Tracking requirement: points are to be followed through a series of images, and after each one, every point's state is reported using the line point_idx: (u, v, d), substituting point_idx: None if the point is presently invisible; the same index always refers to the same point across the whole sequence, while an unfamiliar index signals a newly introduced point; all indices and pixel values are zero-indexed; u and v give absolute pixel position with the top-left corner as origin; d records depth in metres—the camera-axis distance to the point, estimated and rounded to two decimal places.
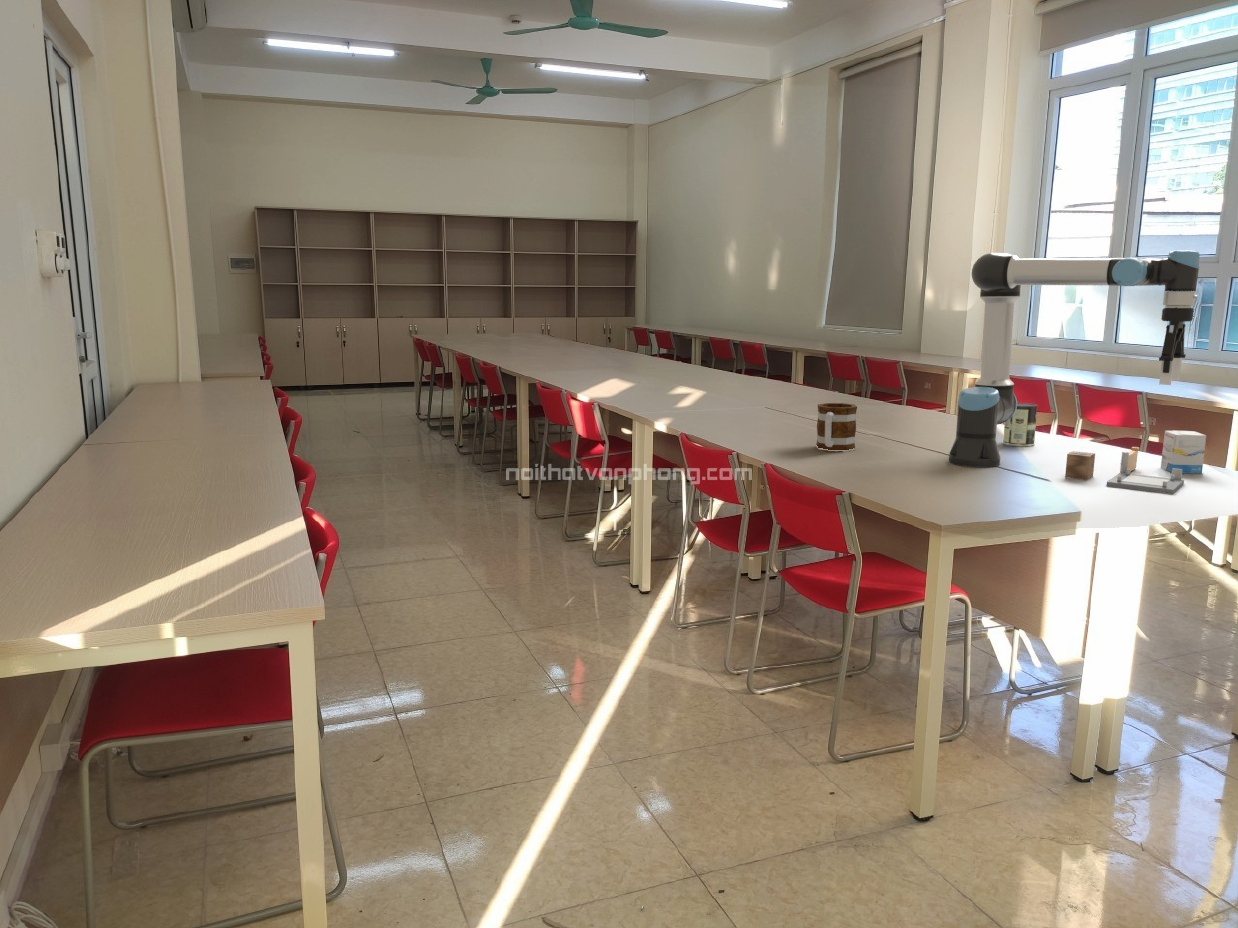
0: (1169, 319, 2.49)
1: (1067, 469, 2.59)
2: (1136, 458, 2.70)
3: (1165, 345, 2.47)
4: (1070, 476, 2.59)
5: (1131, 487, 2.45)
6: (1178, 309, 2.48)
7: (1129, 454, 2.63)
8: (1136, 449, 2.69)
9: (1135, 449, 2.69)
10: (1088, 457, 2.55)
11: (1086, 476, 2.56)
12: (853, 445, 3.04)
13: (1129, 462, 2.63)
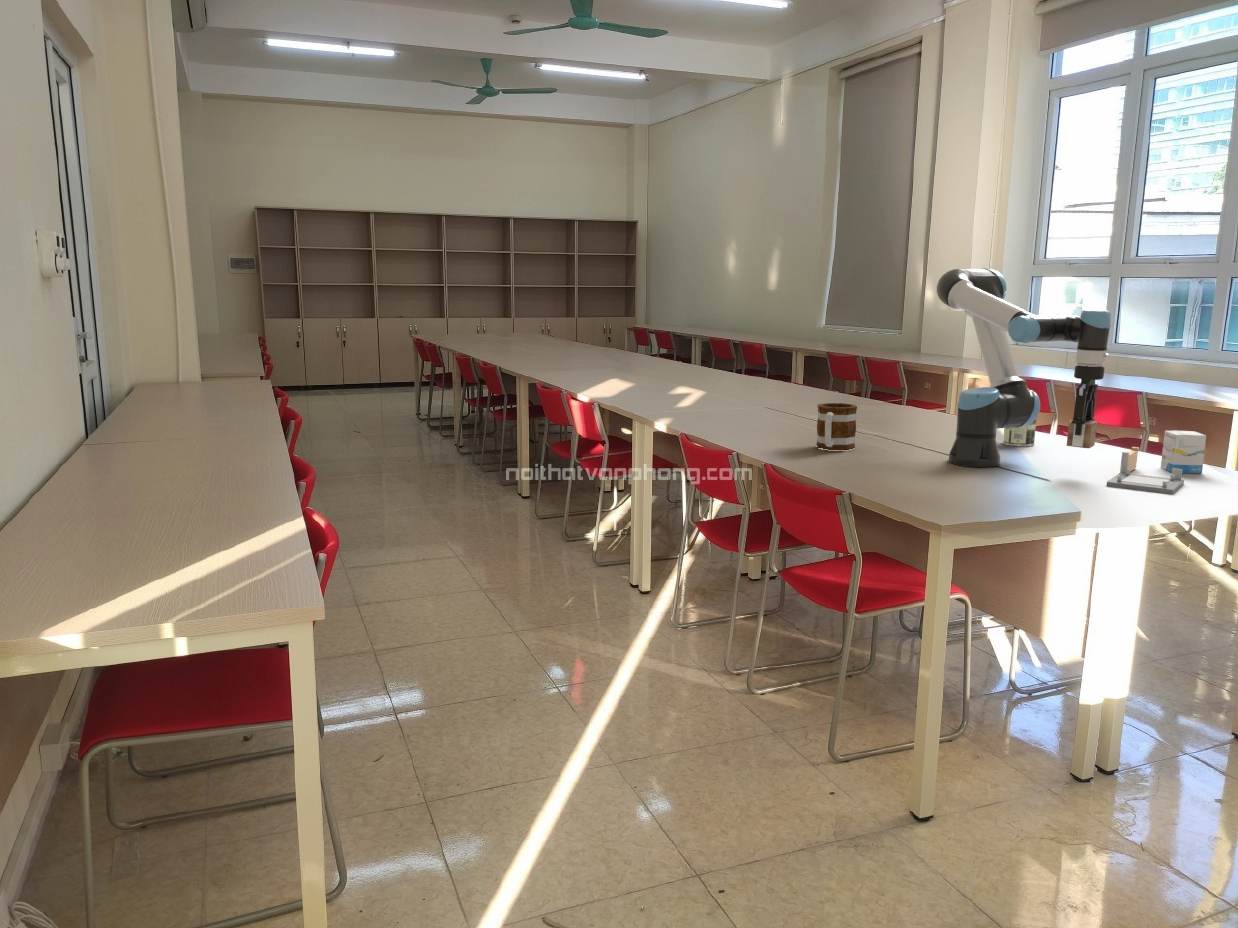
0: (1080, 377, 2.53)
1: (1069, 437, 2.58)
2: (1136, 458, 2.70)
3: (1076, 409, 2.52)
4: (1071, 444, 2.58)
5: (1131, 487, 2.45)
6: (1089, 368, 2.51)
7: (1129, 454, 2.63)
8: (1136, 449, 2.69)
9: (1135, 449, 2.69)
10: (1090, 425, 2.54)
11: (1088, 444, 2.55)
12: (853, 445, 3.04)
13: (1129, 462, 2.63)
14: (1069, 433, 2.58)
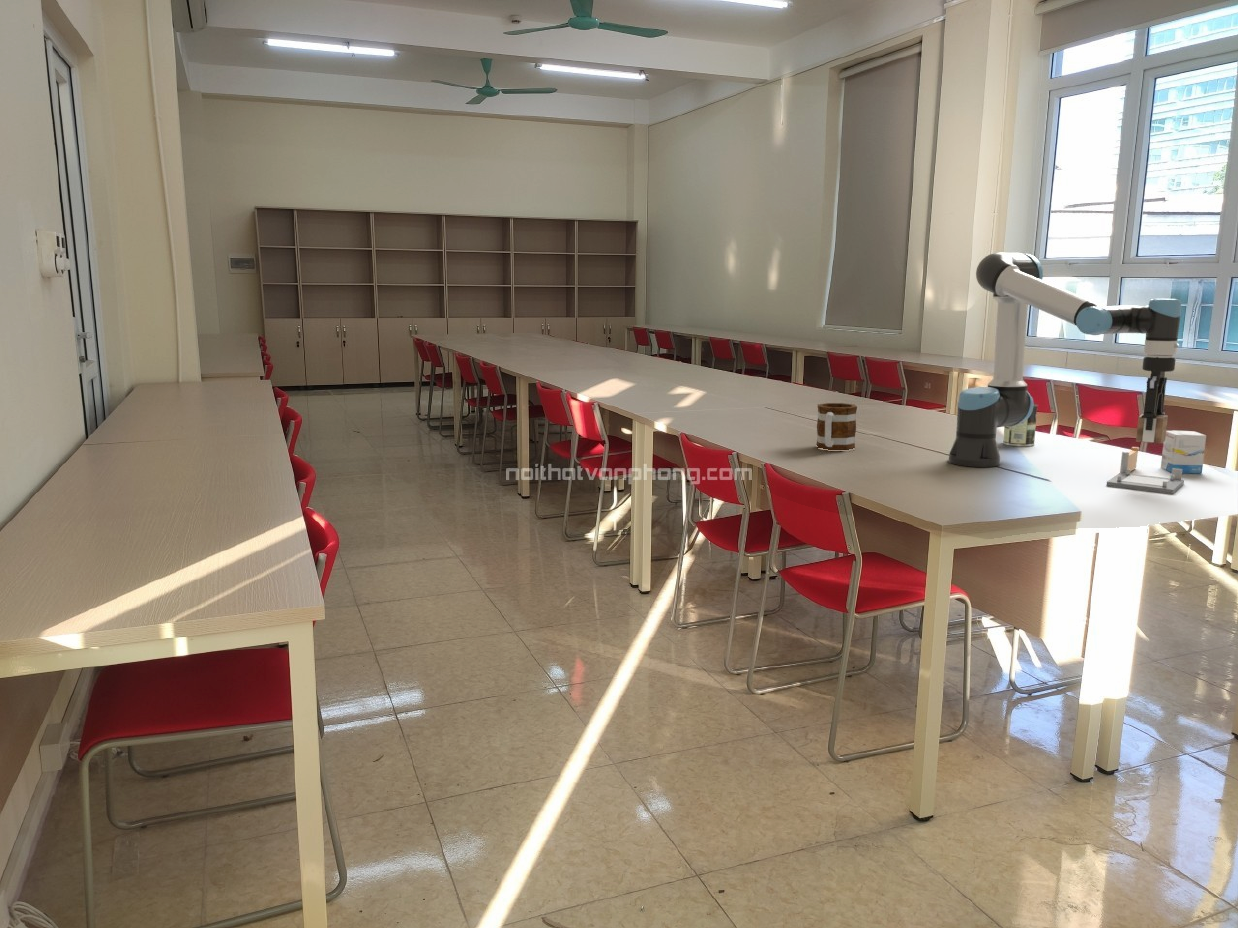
0: (1150, 369, 2.41)
1: (1138, 432, 2.46)
2: (1136, 458, 2.70)
3: (1147, 402, 2.40)
4: None
5: (1131, 487, 2.45)
6: (1159, 359, 2.40)
7: (1129, 454, 2.63)
8: (1136, 449, 2.69)
9: (1135, 449, 2.69)
10: (1162, 419, 2.42)
11: (1159, 439, 2.43)
12: (853, 445, 3.04)
13: (1129, 462, 2.63)
14: (1139, 428, 2.46)
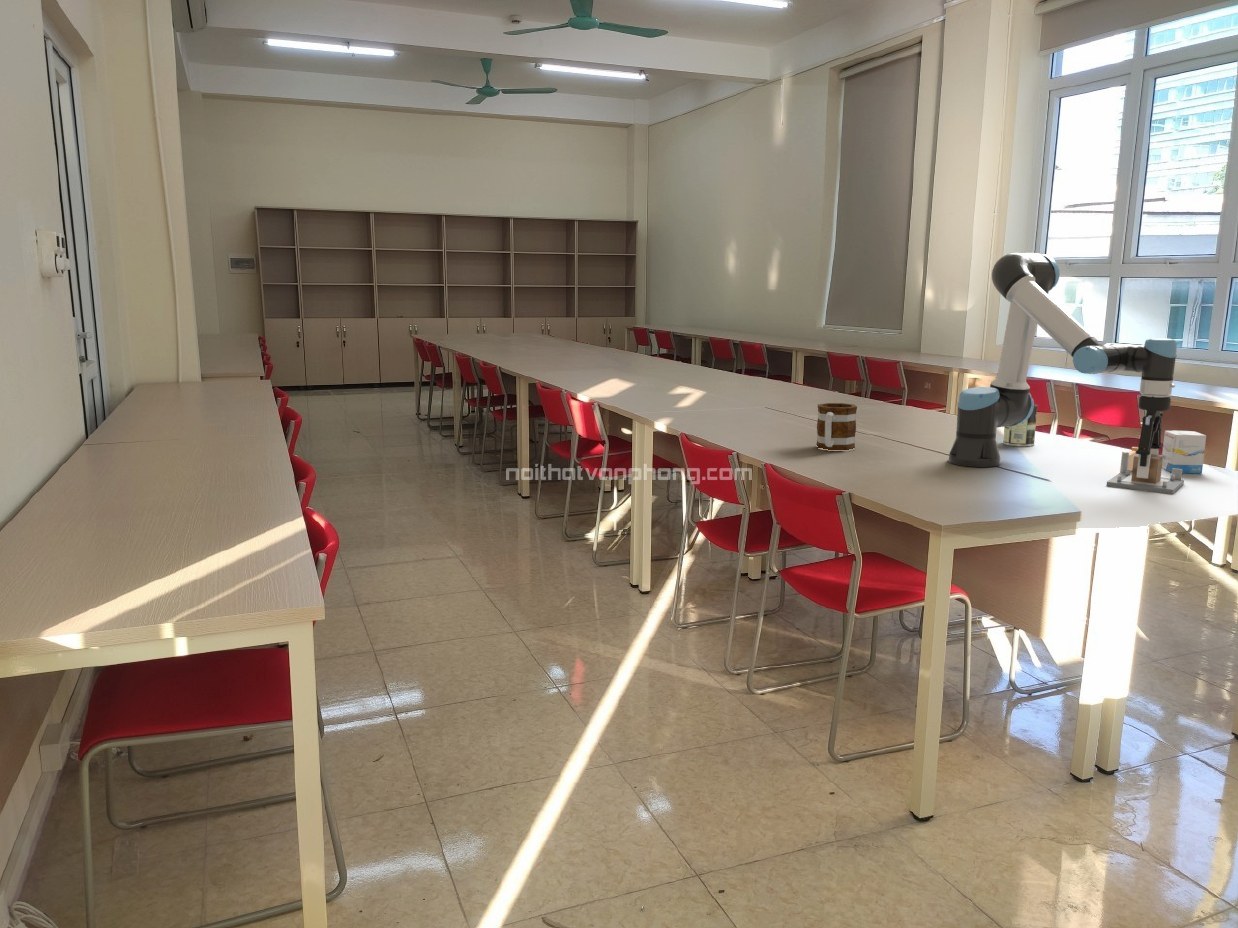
0: (1146, 408, 2.43)
1: (1133, 472, 2.48)
2: None
3: (1141, 438, 2.41)
4: (1137, 479, 2.48)
5: (1131, 487, 2.45)
6: (1155, 398, 2.42)
7: (1129, 454, 2.63)
8: (1136, 449, 2.69)
9: (1135, 449, 2.69)
10: (1157, 459, 2.44)
11: (1154, 479, 2.45)
12: (853, 445, 3.04)
13: (1129, 462, 2.63)
14: (1134, 467, 2.48)
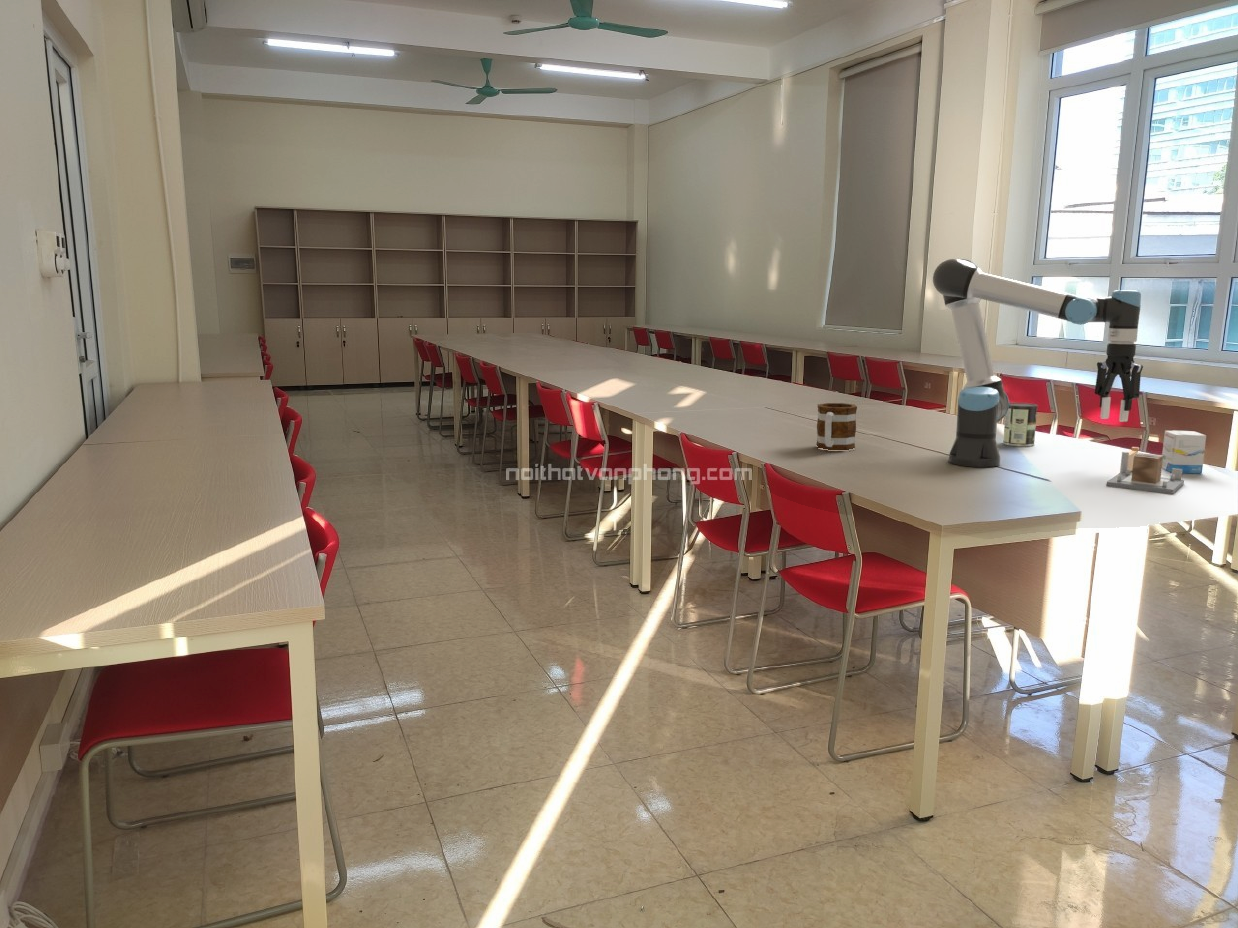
0: None
1: (1133, 472, 2.48)
2: None
3: None
4: (1137, 479, 2.48)
5: (1131, 487, 2.45)
6: None
7: (1129, 454, 2.63)
8: (1136, 449, 2.69)
9: (1135, 449, 2.69)
10: (1157, 459, 2.44)
11: (1154, 479, 2.45)
12: (853, 445, 3.04)
13: (1129, 462, 2.63)
14: (1134, 467, 2.48)
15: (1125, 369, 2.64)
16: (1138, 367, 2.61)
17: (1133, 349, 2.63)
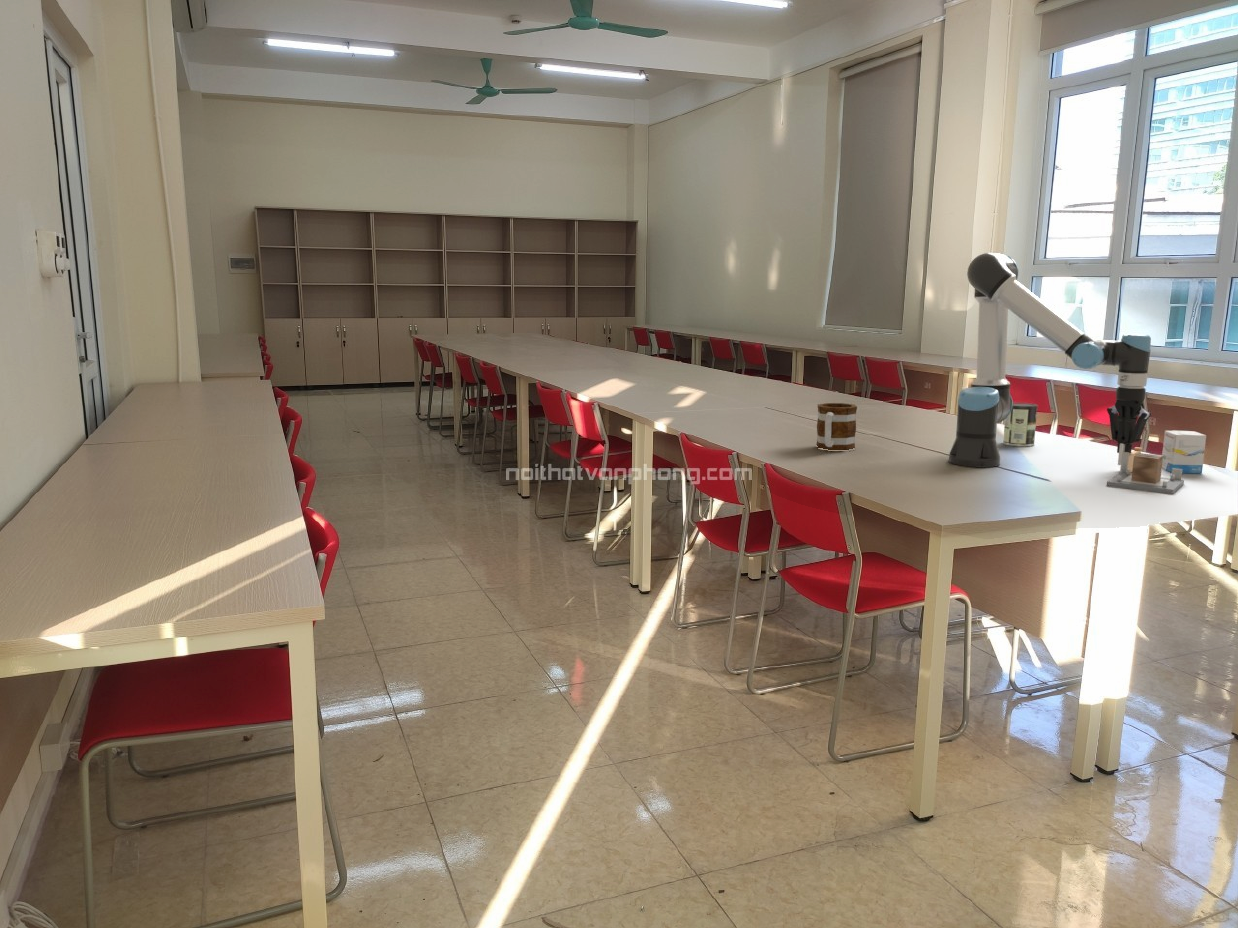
0: None
1: (1133, 472, 2.48)
2: None
3: None
4: (1137, 479, 2.48)
5: (1131, 487, 2.45)
6: None
7: (1130, 454, 2.63)
8: (1139, 449, 2.69)
9: (1138, 449, 2.69)
10: (1157, 459, 2.44)
11: (1154, 479, 2.45)
12: (853, 445, 3.04)
13: (1130, 462, 2.63)
14: (1134, 467, 2.48)
15: (1135, 413, 2.63)
16: (1146, 415, 2.60)
17: (1143, 393, 2.61)
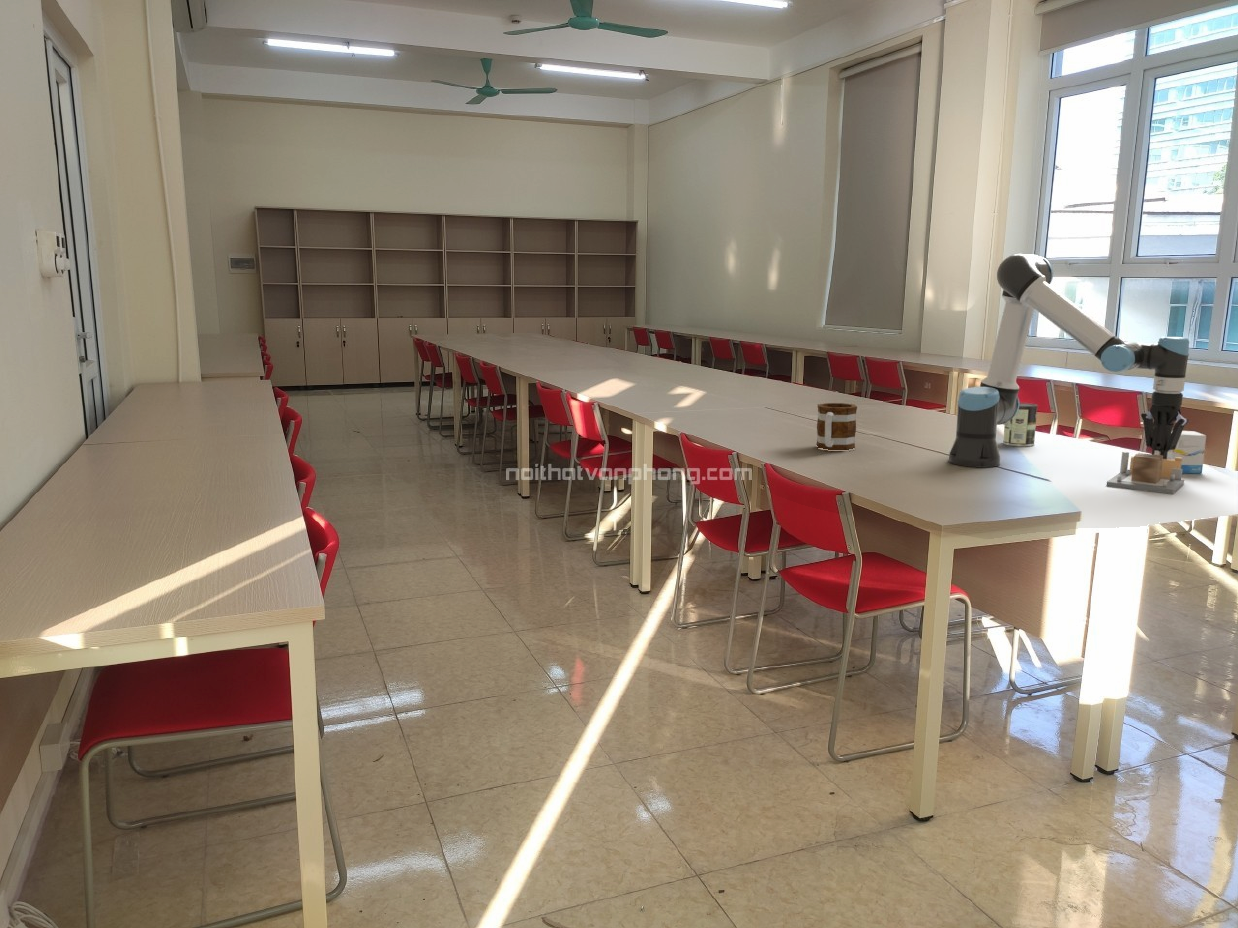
0: None
1: (1133, 472, 2.48)
2: None
3: None
4: (1137, 479, 2.48)
5: (1131, 487, 2.45)
6: None
7: None
8: (1175, 459, 2.54)
9: (1175, 459, 2.54)
10: (1157, 459, 2.44)
11: (1154, 479, 2.45)
12: (853, 445, 3.04)
13: None
14: (1134, 467, 2.48)
15: (1171, 419, 2.53)
16: (1183, 421, 2.50)
17: (1180, 399, 2.51)
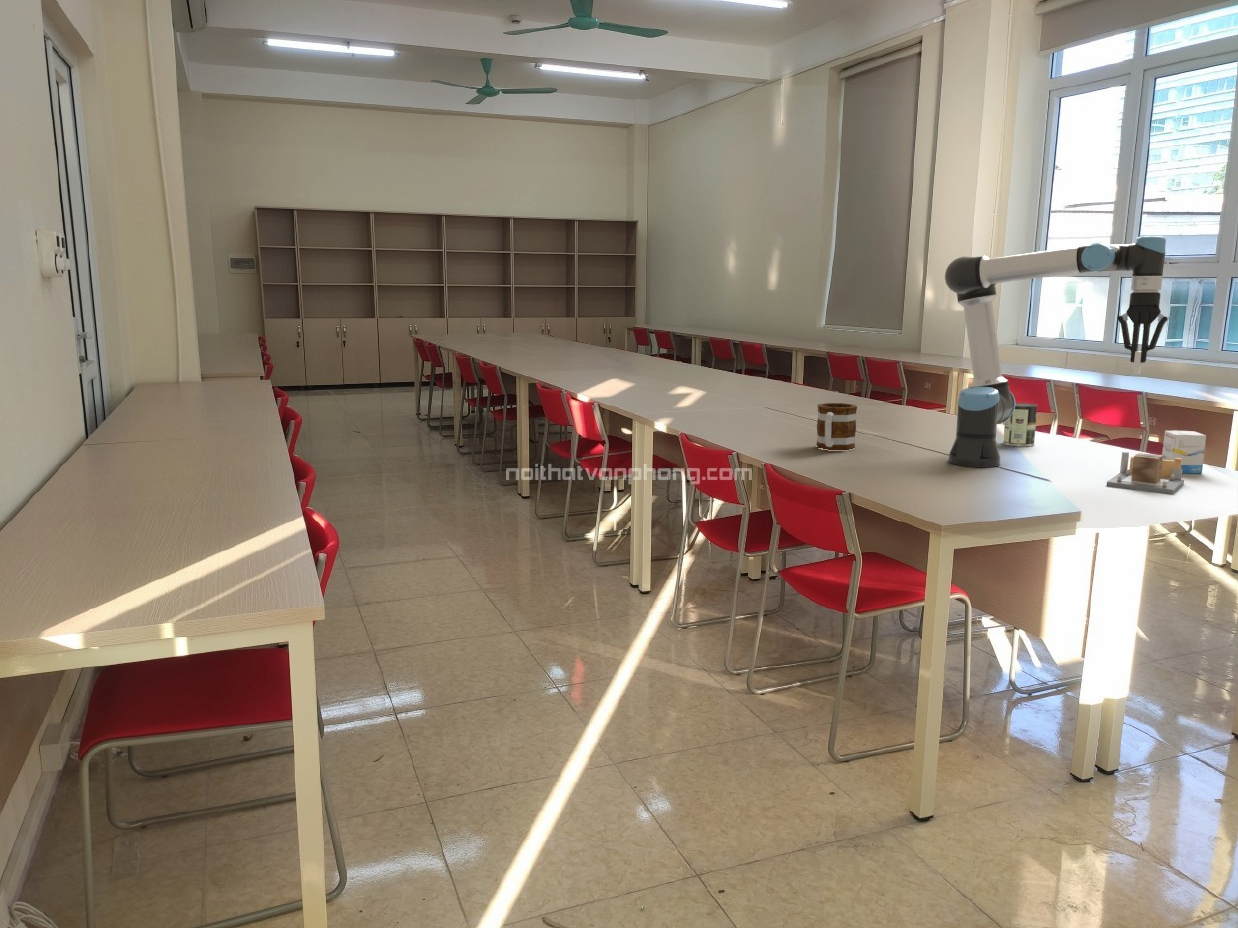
0: None
1: (1133, 472, 2.48)
2: None
3: None
4: (1137, 479, 2.48)
5: (1131, 487, 2.45)
6: (1131, 293, 2.58)
7: None
8: None
9: None
10: (1157, 459, 2.44)
11: (1154, 479, 2.45)
12: (853, 445, 3.04)
13: None
14: (1134, 467, 2.48)
15: (1153, 318, 2.55)
16: (1167, 319, 2.53)
17: (1159, 297, 2.54)
